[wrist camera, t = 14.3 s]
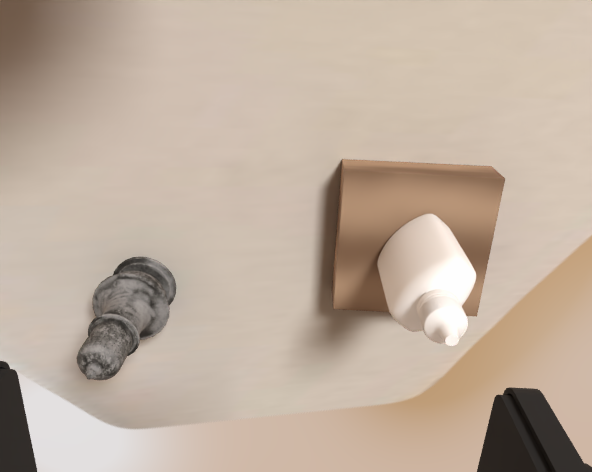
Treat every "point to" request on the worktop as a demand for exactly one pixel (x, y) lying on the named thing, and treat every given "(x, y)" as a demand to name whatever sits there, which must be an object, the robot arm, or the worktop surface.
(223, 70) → the worktop surface
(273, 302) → the worktop surface
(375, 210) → the walnut stand
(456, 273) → the eye dropper bottle
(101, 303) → the salt shaker
